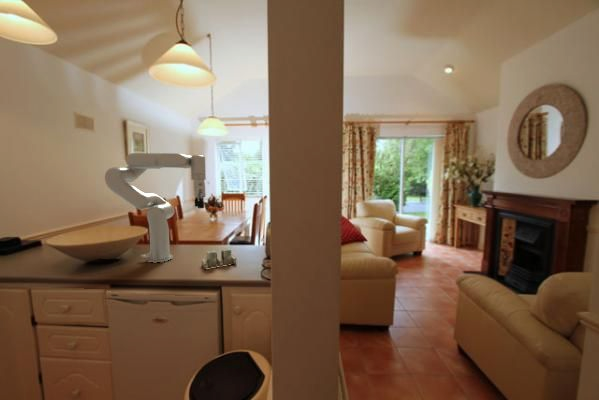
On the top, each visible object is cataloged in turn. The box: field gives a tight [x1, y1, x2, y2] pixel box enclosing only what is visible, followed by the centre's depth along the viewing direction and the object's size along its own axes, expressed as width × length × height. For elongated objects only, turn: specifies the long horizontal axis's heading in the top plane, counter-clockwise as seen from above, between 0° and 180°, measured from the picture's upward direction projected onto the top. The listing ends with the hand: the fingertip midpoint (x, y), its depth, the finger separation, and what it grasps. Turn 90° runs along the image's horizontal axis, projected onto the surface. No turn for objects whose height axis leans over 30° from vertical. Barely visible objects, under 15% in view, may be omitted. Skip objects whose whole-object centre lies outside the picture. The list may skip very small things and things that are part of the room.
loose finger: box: [206, 250, 218, 266], centre depth 130 cm, size 4×4×7 cm
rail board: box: [201, 247, 238, 269], centre depth 132 cm, size 16×8×8 cm, turn 122°
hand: (199, 207), depth 140 cm, fingers open, 9 cm apart
